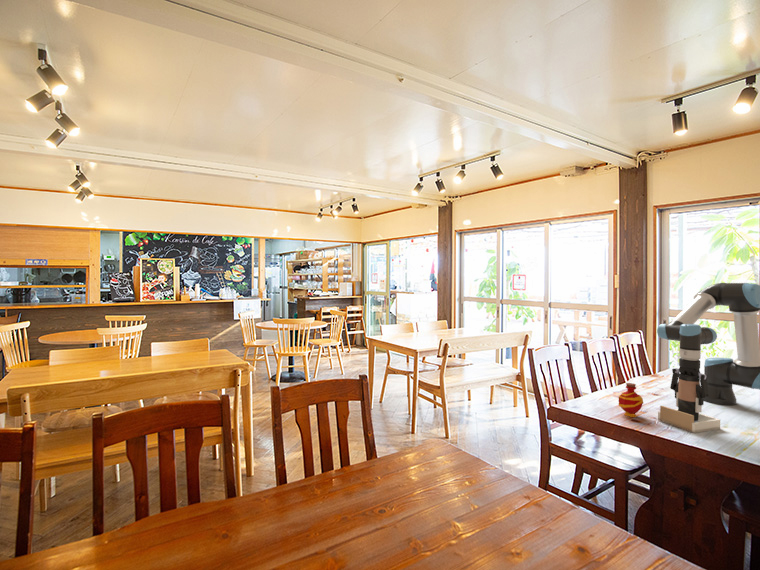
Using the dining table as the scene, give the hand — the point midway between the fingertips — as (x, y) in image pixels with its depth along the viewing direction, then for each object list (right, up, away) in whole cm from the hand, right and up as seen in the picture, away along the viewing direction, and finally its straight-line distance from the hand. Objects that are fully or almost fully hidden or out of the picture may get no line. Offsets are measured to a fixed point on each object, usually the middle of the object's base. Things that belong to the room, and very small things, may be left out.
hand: (688, 409), depth 180 cm
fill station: (0, -7, 0) cm, 7 cm away
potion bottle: (-19, -7, +12) cm, 23 cm away
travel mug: (0, -4, 0) cm, 4 cm away
